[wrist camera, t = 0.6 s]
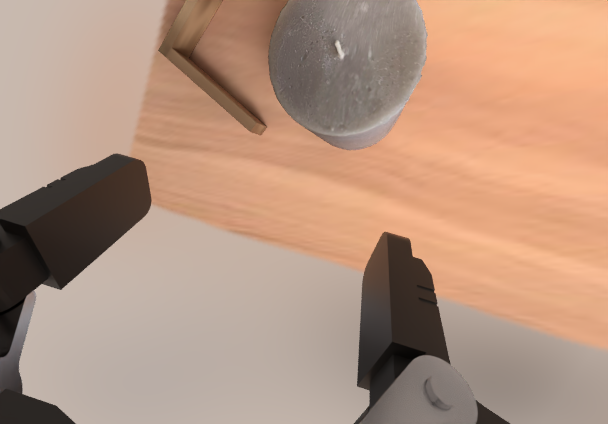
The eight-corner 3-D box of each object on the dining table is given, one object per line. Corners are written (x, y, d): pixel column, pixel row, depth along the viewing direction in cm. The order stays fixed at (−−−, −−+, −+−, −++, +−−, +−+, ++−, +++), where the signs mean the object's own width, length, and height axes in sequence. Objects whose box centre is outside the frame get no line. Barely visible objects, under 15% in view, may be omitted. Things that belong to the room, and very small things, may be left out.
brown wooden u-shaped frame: (265, -93, 29) (253, -122, 26) (368, -13, 28) (367, -34, 25) (176, 60, 34) (158, 50, 31) (261, 135, 33) (250, 131, 30)
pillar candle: (293, 112, 31) (227, 65, 17) (352, 35, 29) (332, -97, 14) (357, 169, 31) (346, 170, 16) (423, 95, 28) (479, 19, 14)
